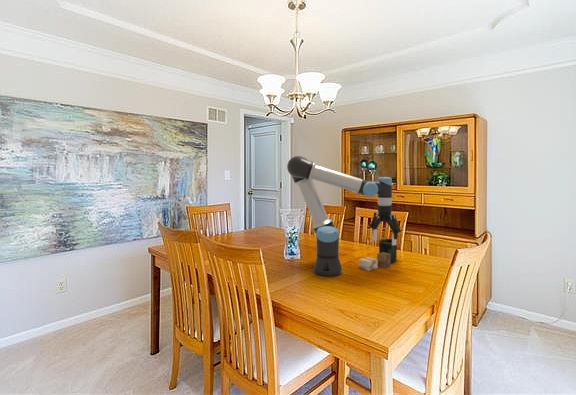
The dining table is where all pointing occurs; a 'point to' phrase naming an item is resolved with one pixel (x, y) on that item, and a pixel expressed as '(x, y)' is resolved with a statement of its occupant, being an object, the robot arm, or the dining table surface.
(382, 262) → the walnut block
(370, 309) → the dining table surface
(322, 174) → the robot arm
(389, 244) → the mug
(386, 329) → the dining table surface
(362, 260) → the pale grey block
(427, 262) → the dining table surface
